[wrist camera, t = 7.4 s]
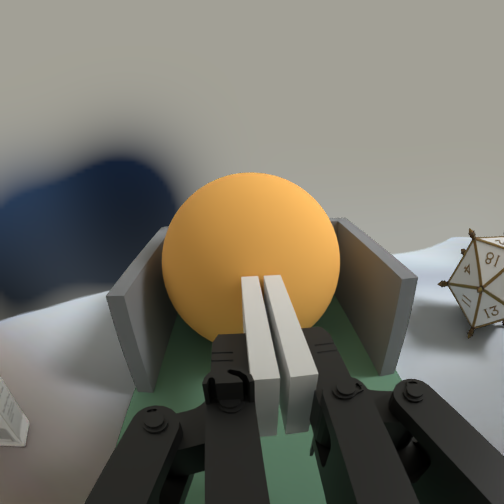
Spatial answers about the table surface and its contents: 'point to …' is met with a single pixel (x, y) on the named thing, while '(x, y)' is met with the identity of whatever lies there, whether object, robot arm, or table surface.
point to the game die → (480, 281)
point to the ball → (248, 251)
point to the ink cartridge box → (11, 420)
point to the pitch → (200, 349)
